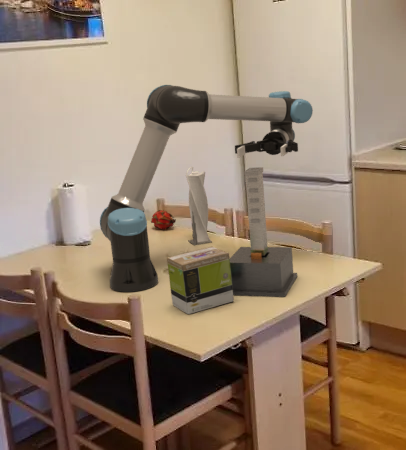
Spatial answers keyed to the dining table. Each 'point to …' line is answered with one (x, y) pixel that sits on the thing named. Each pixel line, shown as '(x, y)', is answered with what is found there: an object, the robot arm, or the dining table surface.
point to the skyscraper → (198, 207)
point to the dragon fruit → (162, 220)
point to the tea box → (200, 279)
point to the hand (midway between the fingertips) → (259, 152)
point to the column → (256, 210)
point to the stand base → (262, 272)
